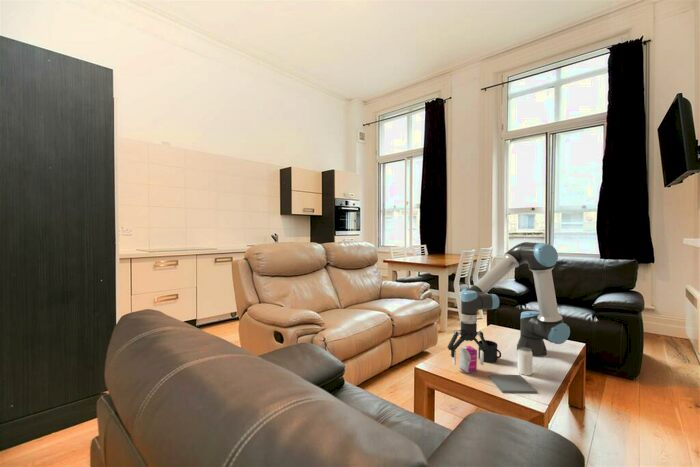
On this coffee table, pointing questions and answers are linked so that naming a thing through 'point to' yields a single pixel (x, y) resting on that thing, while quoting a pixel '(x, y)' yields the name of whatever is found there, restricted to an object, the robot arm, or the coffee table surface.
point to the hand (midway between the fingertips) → (467, 363)
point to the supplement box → (468, 359)
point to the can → (524, 361)
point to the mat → (512, 384)
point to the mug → (490, 352)
